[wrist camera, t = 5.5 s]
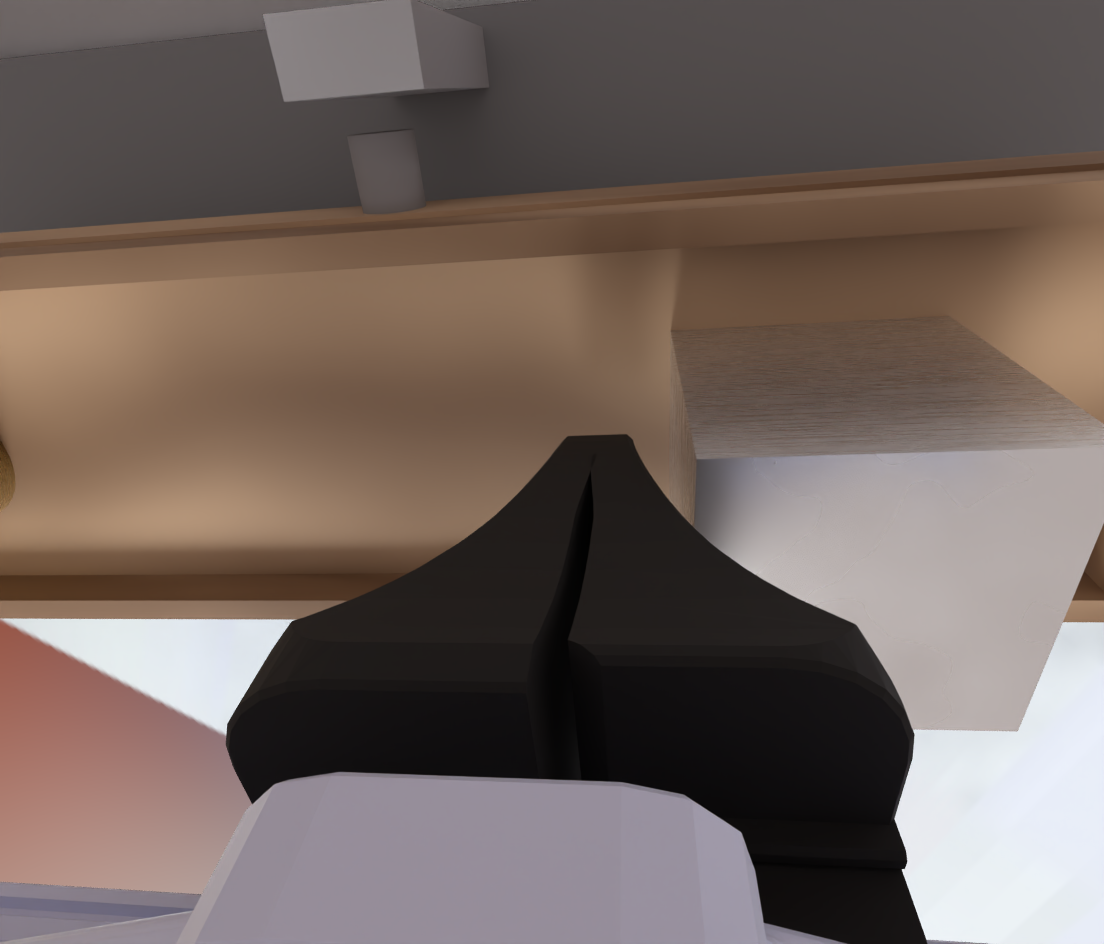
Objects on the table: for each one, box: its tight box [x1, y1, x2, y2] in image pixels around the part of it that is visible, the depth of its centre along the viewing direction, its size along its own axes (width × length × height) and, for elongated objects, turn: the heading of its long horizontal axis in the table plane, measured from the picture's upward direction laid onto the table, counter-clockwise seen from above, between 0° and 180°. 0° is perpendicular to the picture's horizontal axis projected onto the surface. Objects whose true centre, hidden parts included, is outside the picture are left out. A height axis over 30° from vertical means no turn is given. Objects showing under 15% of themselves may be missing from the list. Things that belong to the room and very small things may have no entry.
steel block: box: [669, 316, 1104, 731], centre depth 11 cm, size 5×5×5 cm
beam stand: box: [0, 0, 1104, 233], centre depth 17 cm, size 16×33×6 cm, turn 95°
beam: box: [0, 129, 1104, 622], centre depth 14 cm, size 12×30×2 cm, turn 95°
